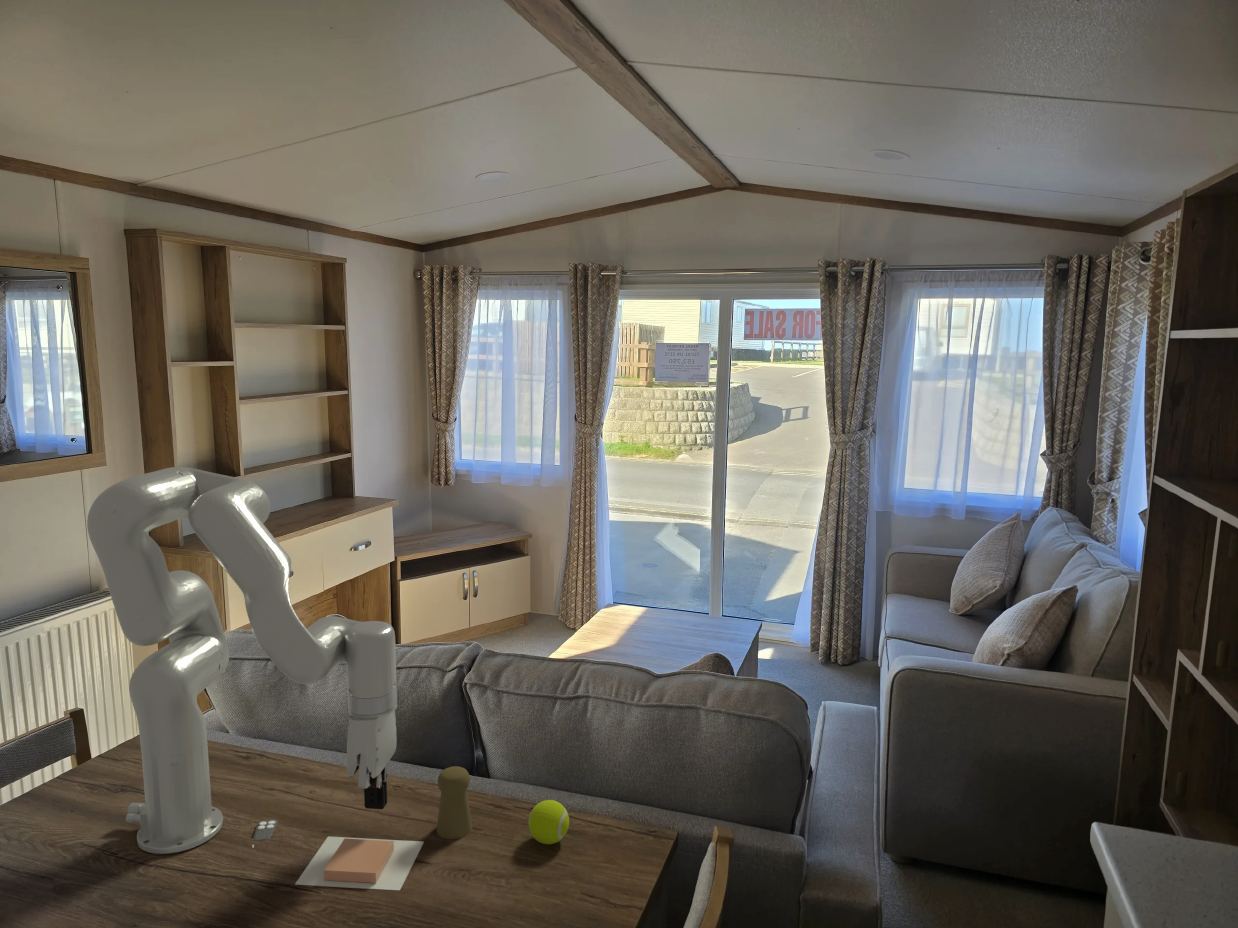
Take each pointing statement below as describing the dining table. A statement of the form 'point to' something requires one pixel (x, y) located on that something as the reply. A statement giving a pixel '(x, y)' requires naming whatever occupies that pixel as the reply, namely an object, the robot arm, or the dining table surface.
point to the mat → (388, 880)
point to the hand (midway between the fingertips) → (376, 805)
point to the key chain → (264, 830)
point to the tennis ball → (548, 822)
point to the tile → (359, 860)
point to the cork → (454, 804)
